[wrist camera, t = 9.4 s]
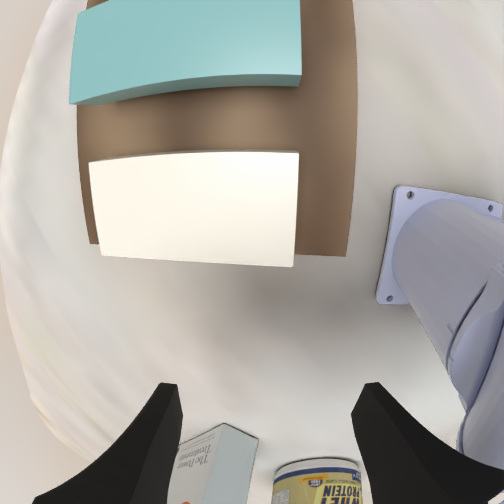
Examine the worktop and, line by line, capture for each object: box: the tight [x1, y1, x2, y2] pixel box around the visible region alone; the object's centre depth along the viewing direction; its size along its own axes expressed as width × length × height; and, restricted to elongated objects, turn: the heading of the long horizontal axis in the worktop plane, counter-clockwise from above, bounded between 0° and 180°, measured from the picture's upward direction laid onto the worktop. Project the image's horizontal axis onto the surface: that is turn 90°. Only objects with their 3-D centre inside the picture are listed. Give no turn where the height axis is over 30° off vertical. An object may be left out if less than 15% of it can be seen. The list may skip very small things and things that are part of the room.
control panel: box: [77, 0, 357, 257], centre depth 12 cm, size 16×22×4 cm
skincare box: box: [167, 424, 258, 504], centre depth 23 cm, size 21×6×16 cm, turn 142°
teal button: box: [69, 0, 302, 105], centre depth 9 cm, size 10×5×2 cm, turn 90°
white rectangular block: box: [89, 149, 299, 267], centre depth 13 cm, size 10×5×2 cm, turn 90°
